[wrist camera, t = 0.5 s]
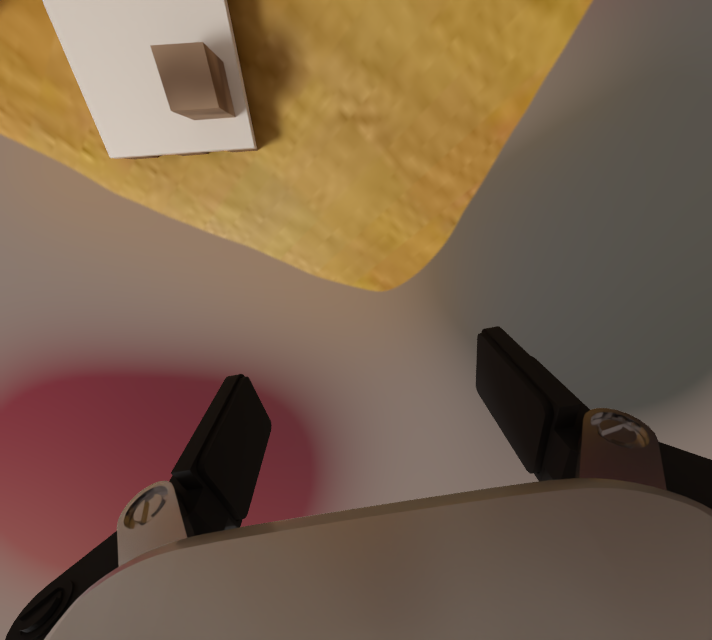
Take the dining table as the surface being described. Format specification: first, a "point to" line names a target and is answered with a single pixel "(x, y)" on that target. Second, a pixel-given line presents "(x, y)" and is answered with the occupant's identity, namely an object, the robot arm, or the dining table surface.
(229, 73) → the dock
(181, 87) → the crate
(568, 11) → the dining table surface
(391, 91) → the dining table surface
